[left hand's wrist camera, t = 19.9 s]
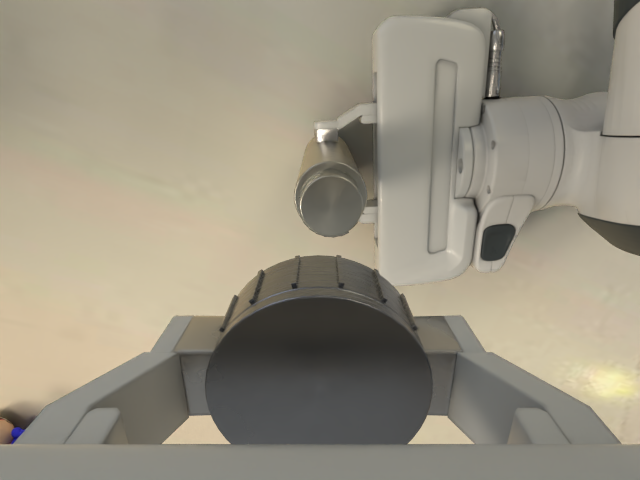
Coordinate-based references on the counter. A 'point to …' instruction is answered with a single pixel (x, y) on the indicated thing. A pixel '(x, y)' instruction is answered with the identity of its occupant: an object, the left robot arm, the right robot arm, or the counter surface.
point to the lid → (319, 359)
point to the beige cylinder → (329, 189)
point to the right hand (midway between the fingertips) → (316, 167)
